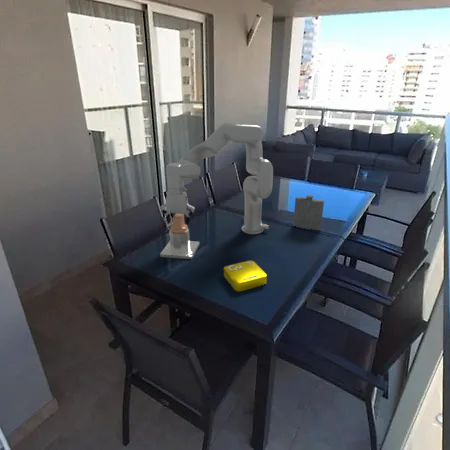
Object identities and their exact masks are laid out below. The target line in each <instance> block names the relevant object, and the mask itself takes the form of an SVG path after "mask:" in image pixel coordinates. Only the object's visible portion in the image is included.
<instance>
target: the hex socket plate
mask: <svg viewBox="0 0 450 450" xmlns="http://www.w3.org/2000/svg"><path fill="white" fill-rule="evenodd" d="M168 232H169V233H168V234H169V241H168V243H167V244H166V245H165V247H164V248H163V249H162V251H161V252H160V254H159V255H160V256H159V257H161V258H170V259H180V260H181V259H183V260H193V257H194V256H195V255H196V252H197V250H198V249H199V247H200V243H201V242H200V241H198V240H197V241H193V240H191V237H190V229H189V228H188V230H187V231H186V232H184V233H179V234H177V233H172V232H171V228H170V229H169V230H168Z"/></svg>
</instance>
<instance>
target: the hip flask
mask: <svg viewBox="0 0 450 450" xmlns="http://www.w3.org/2000/svg"><path fill="white" fill-rule="evenodd" d="M324 205H325V200H323V199H317V198H316V199H314V195H313V194H306V196H305V197H303V196H296V197H295V200H294V211H293V223H292V226H293V227H295V226H296V227H297V228H299V227H300V228H299V229H304V228H305V230H310V229H312V230H313V231H321V228H322V221H323V220H322V219H323V213H324ZM296 227H295V228H296Z"/></svg>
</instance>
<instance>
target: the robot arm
mask: <svg viewBox="0 0 450 450" xmlns="http://www.w3.org/2000/svg"><path fill="white" fill-rule="evenodd" d="M264 134H265V133H264V130H263V128H262V126H260V125H258V124H252V123H251V124H250V123H247V122H246V123H245V122H243V123H242V122H241V123H233V122H223V123H222V124H221V125H220V126H218V128H216V129H215V130H214V132H213V133H211V134H210V135H209V136H208V137H207V138H206V139H205V140H204V141H203V142H201V143H199V144H197V145H196V146H193V148H191V149H189V150H188V151H186V153H184V154H183V156H182V157H180V159H179V160H178V162H170V163H168V164H167V165H166V166H165V169H166V182H167V192H166V199H165V202H166V203H164V204H162V205H160V206H159V208H160V210H161V212H162V213H163V214H164V216H165V217H166V219H165V220H166V222H167V223H166V224H171V223H172V222H171V221H172V219H171V217H172V216H171V214H176V213H177V214H184V216H185V221H186V222H185V225H187V226H188V225H189V224H190V223H191V216H192V215H193V214H194V212H195V210H196V208H195V206H192V205H190V204H189V200H188V199H189V198H188V195H187V192H186V191H187V190H188V188H187V187H185V182H184V179H185V180H187V179H190V180H192V179H193V180H194V179H196V178H199V176H200V175H201V171H202V169H201V167H200V165H199V163H198V162H200V161H202V160H203V159H206V158H211V157H215V156H217V155H218V154H219V153H220V152H221V151H222V150H223V149H225V147H226V146H227V145H228V144H229V143H233V144H244V146H245V151H246V152H245V153H246V154H245V156H246V157H245V158H246V159H245V170H246V172H248V174H251V175H249V176H247V177H246V178H244V181H243V184H242V187H243V188H242V189H243V193H244V223H243V225H242V226H241V231H242V232H243V233H245V234H248V235H258V234H259V235H260V234H261V233H263V232H264V229H265V230H266V229H267V230H269V228H270V227H269V226H270V225H268V224H267V223H263V221H262V208H263V207H262V205H263V199H267V198H268V197H269V196H271V194H272V191H273V185H274V184H273V180H274V167H273V164H272V163H271V162H270V161H271V160H268V159H265V158H264V157H263V154H264V153H263V143H262V140H263V138H264ZM189 210H191V211H189Z"/></svg>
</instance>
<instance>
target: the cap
mask: <svg viewBox="0 0 450 450" xmlns="http://www.w3.org/2000/svg"><path fill="white" fill-rule="evenodd" d="M171 221H172V225H171V226H170V229H171V232H172V233H177V234H179V233H184V232H186V231H187V230H188V229H189V228H188V227H189V226H188V225H187V224H186V222H185V214H184V213H174V215H173V216H172V219H171Z"/></svg>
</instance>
